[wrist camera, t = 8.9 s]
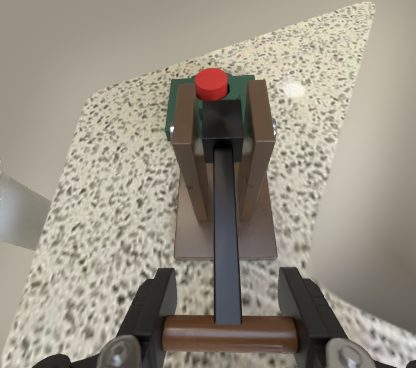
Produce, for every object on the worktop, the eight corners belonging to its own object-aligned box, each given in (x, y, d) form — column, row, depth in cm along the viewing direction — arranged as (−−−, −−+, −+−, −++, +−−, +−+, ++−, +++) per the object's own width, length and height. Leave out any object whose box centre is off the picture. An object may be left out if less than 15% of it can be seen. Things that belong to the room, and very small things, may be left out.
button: (196, 103, 26) (194, 90, 24) (197, 82, 27) (195, 68, 26) (227, 101, 26) (227, 88, 24) (226, 80, 27) (226, 67, 26)
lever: (288, 347, 9) (307, 361, 7) (170, 345, 10) (155, 357, 8) (259, 126, 15) (265, 97, 13) (184, 129, 15) (178, 101, 13)
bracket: (275, 259, 20) (338, 205, 9) (175, 260, 21) (117, 209, 10) (262, 158, 25) (292, 41, 14) (182, 160, 26) (150, 50, 15)
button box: (168, 140, 27) (160, 120, 24) (173, 89, 32) (168, 66, 29) (259, 137, 27) (264, 115, 24) (252, 85, 31) (256, 61, 28)
